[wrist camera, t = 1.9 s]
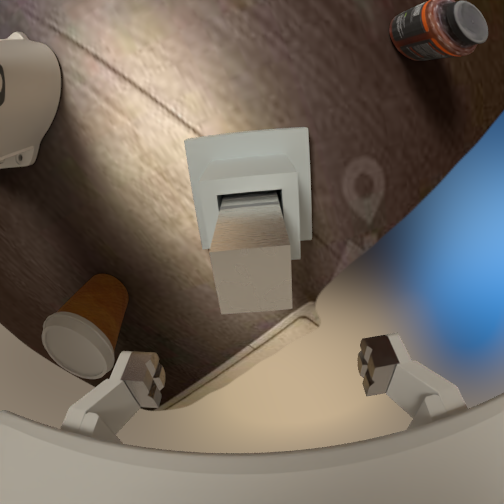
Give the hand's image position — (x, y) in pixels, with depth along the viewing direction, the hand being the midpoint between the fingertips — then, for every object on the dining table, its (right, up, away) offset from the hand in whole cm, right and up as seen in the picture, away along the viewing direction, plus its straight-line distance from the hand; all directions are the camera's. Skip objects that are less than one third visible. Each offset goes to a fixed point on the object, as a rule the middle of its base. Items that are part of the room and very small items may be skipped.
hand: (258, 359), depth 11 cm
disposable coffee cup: (-20, -1, +27) cm, 33 cm away
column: (0, +10, +19) cm, 21 cm away
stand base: (0, +11, +20) cm, 23 cm away
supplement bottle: (+17, +28, +11) cm, 34 cm away
